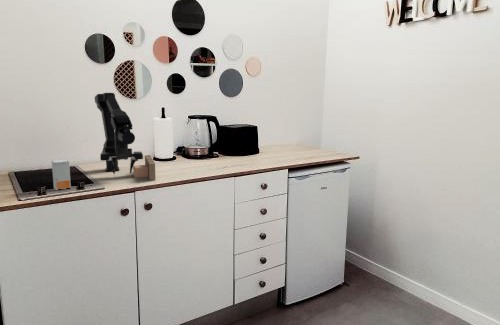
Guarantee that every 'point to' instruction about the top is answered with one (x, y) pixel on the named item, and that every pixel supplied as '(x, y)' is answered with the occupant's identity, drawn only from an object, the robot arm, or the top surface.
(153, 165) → the walnut board
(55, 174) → the skincare box
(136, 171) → the terracotta block
